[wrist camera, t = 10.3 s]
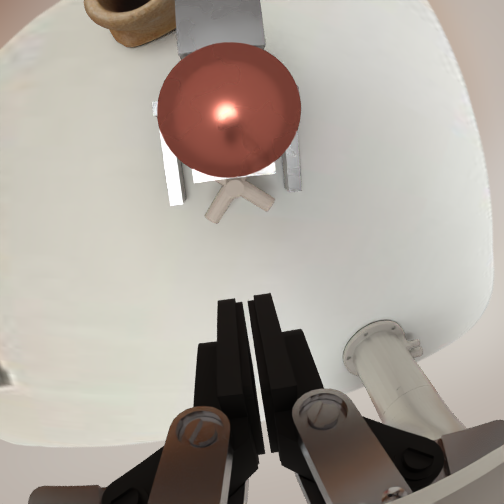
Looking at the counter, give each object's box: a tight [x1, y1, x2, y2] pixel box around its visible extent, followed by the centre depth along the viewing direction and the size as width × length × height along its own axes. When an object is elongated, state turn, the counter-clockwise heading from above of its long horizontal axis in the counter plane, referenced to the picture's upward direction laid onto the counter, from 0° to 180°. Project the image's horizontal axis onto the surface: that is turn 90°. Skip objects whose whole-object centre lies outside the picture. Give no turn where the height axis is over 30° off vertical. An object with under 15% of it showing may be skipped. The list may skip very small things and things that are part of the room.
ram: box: [157, 42, 301, 183], centre depth 17 cm, size 6×7×13 cm
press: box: [152, 0, 302, 206], centre depth 26 cm, size 16×17×22 cm
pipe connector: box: [205, 177, 275, 224], centre depth 34 cm, size 10×10×10 cm
